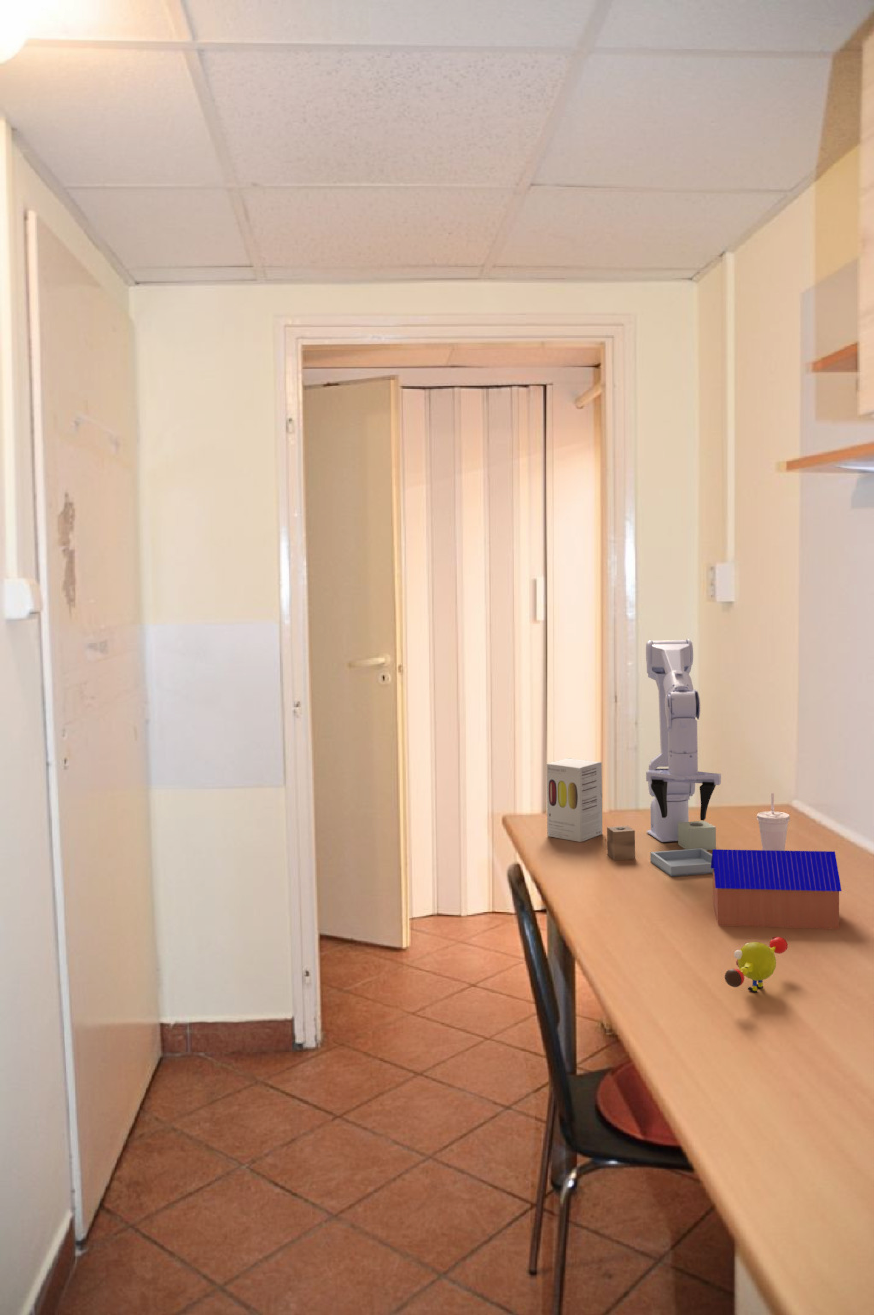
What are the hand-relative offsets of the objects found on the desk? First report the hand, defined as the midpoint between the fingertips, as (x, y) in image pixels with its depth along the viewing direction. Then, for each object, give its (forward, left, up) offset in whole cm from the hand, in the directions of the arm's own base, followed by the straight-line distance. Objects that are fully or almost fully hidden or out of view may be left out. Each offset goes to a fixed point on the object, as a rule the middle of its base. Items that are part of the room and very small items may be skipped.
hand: (683, 818), depth 214 cm
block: (-10, -10, -10) cm, 17 cm away
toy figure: (+62, -15, -10) cm, 65 cm away
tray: (+1, 0, -10) cm, 10 cm away
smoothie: (+2, +18, -10) cm, 21 cm away
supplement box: (-30, -14, -10) cm, 34 cm away
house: (+33, +2, -10) cm, 35 cm away
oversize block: (-13, +8, -10) cm, 18 cm away
